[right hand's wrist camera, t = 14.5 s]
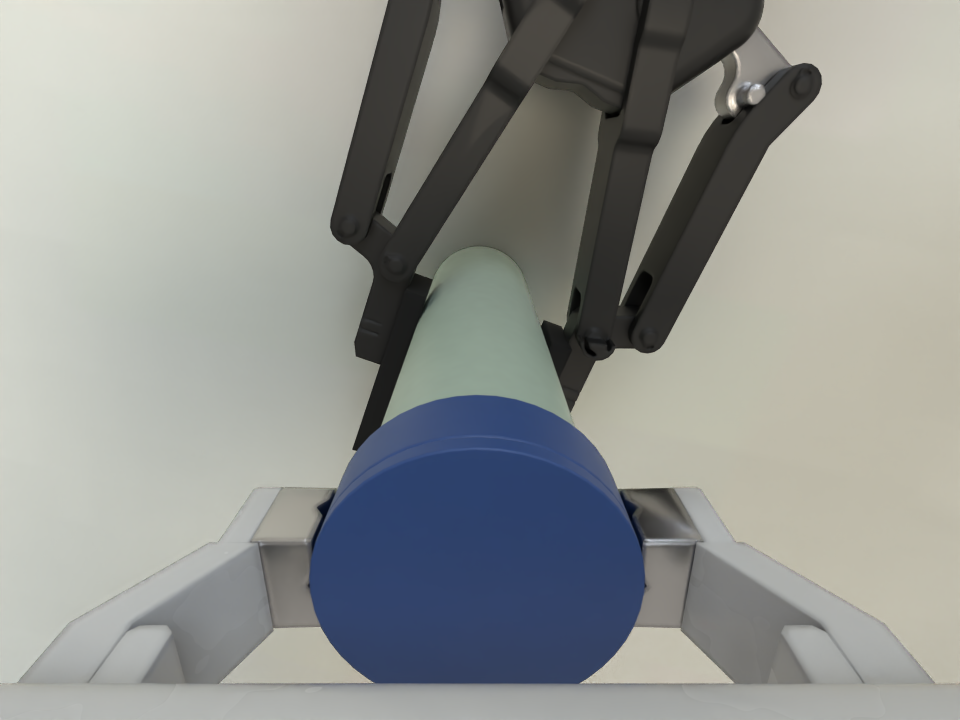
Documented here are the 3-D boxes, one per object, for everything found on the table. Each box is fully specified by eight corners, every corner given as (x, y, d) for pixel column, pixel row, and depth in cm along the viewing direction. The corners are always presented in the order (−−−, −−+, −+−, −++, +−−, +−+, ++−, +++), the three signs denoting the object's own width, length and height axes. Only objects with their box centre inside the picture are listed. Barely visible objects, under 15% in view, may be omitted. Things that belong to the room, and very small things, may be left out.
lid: (364, 361, 9) (337, 411, 7) (660, 431, 10) (699, 492, 8) (317, 598, 11) (287, 681, 9) (568, 646, 12) (583, 734, 10)
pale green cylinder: (475, 225, 25) (466, 394, 8) (546, 290, 26) (673, 565, 9) (411, 296, 26) (283, 579, 9) (481, 356, 28) (485, 709, 10)
